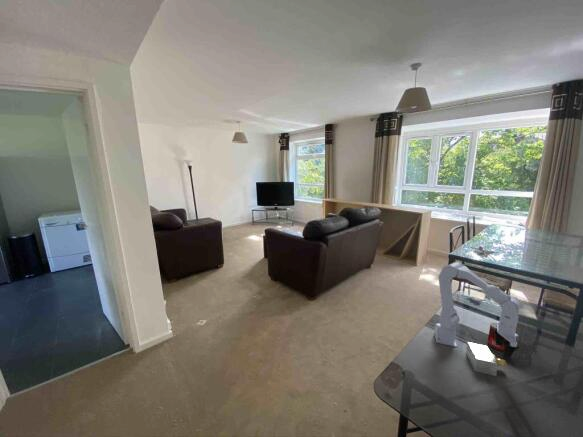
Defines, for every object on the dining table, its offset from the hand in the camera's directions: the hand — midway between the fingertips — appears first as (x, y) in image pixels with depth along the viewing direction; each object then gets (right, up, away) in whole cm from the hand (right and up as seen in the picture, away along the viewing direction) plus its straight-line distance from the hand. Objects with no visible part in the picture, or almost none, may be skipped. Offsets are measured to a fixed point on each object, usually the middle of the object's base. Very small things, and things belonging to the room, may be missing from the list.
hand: (502, 350), depth 108 cm
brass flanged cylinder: (-3, -9, +3) cm, 10 cm away
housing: (-7, -9, +4) cm, 12 cm away
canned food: (+12, -7, +16) cm, 21 cm away
